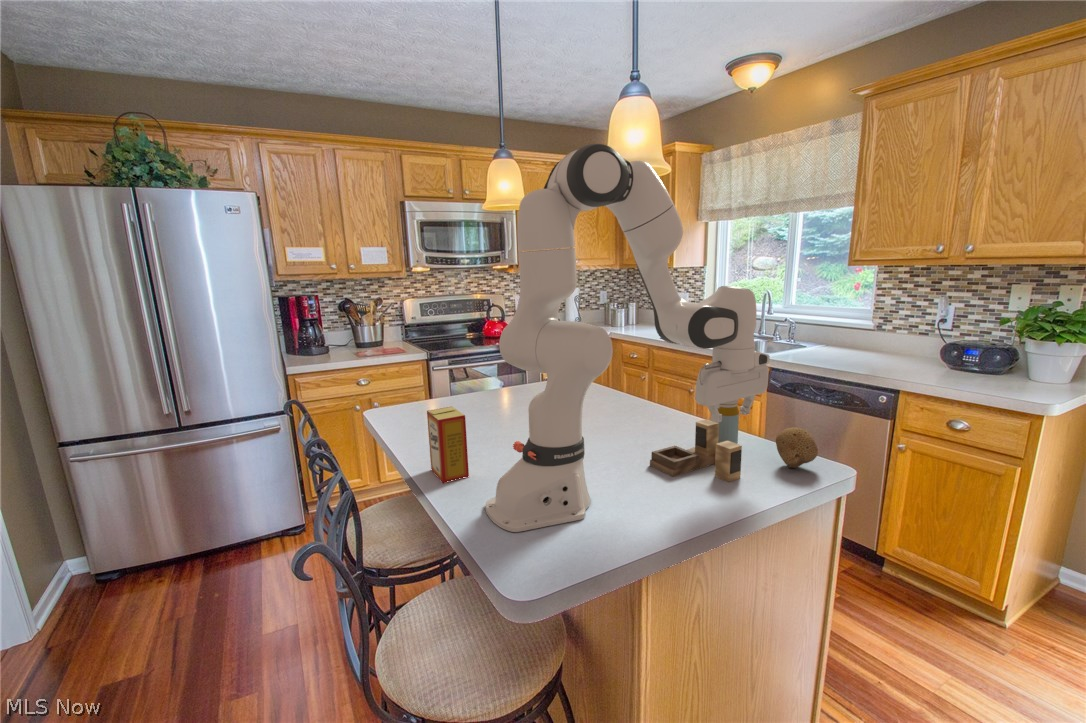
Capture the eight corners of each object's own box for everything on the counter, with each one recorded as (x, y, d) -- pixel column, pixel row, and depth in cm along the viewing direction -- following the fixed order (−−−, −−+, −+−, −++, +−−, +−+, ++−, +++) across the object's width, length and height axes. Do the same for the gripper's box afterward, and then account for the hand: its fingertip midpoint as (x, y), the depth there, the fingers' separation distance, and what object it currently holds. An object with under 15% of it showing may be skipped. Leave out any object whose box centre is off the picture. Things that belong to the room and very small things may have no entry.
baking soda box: (468, 477, 118) (465, 413, 115) (442, 483, 115) (438, 418, 112) (455, 464, 126) (452, 405, 124) (431, 469, 123) (426, 409, 120)
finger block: (714, 476, 115) (715, 443, 113) (726, 472, 117) (727, 440, 115) (729, 482, 111) (730, 449, 110) (741, 478, 113) (742, 445, 112)
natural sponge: (811, 461, 121) (814, 423, 119) (820, 476, 113) (823, 435, 111) (771, 458, 124) (774, 421, 122) (777, 472, 115) (780, 432, 114)
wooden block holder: (672, 476, 115) (673, 438, 113) (649, 465, 122) (650, 429, 120) (728, 459, 124) (729, 424, 122) (703, 450, 131) (704, 416, 129)
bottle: (739, 451, 129) (742, 397, 126) (711, 450, 131) (713, 396, 128) (734, 442, 136) (737, 390, 133) (708, 441, 137) (710, 390, 135)
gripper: (711, 367, 101) (709, 430, 104) (774, 355, 111) (771, 413, 114) (688, 362, 107) (687, 422, 109) (751, 351, 116) (748, 406, 119)
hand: (731, 417), depth 112 cm, fingers open, 8 cm apart
